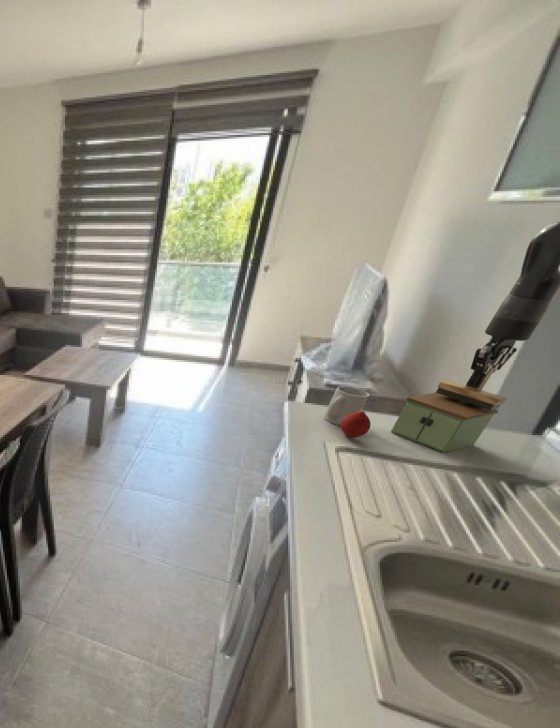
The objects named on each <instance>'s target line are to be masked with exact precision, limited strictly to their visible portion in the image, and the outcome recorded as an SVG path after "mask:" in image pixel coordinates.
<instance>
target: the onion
mask: <svg viewBox="0 0 560 728" xmlns="http://www.w3.org/2000/svg"><path fill="white" fill-rule="evenodd" d="M371 425H372V424H371V419H370V417H369V416H368V415H367V414H366V412H365V409H360V410H359V411H358V412H356V413H352V414H350V415H348V416H346V417H345V418H344V419H343V420H342V422H341V425H340V429H341V431H342V432H343V434H344V436H345V437H346V438H347V439H354V438H359V437H362V436H364V435H366V434H367V433H368V432H369V431H370V430H371Z"/></svg>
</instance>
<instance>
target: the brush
mask: <svg viewBox="0 0 560 728" xmlns="http://www.w3.org/2000/svg"><path fill="white" fill-rule="evenodd" d="M481 366H482V364H481ZM494 370H495V368H493V367H491V369H490V370H489V372H488V373H487V374H486V376H485V377H484V379H483V381H482V382H481V384H480V385H479V387H478V388H472V387H469V386H467V385H466V384H463V383H459V382H456V381H452V380H448V379H447V380H443V381H439V382H438V385H437V390H436V391H435V392H436V393H438V394H441V395H445V396H448V397H451V398H454V399H457V400H460V401H463V402H466V403H469V404H472V405H475V406H479V407H482V408H485V409H488V410H494V409H496V410H499V408H500V407H501V405H503V404H505V402H506V401H507V399H508V397H505V396H502V395H500V394H499V395H498V394H496V393H492V392H489V391H486V390H483V389H484V387H485V385H486V384H487V383H488V381H489V379H490V378H491V376H492V375H493V374H494V373H493V371H494Z"/></svg>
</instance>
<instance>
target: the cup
mask: <svg viewBox="0 0 560 728" xmlns="http://www.w3.org/2000/svg"><path fill="white" fill-rule="evenodd" d="M369 397H370V393H368V392H367V391H366V390H362V389H360V388H356V387H352V386H345V385H344V386H343V385H340V386H337V387H336V390H335V392H334V393H333V396H332V398H331V400H330V402H329V404H328V406H327V408H326V411H325V413H324V415H323V417H324V419H325V421H327V422H328V423H330V424H334V425H336V426H341V422H342V420H343V419H344V418H345V417H346V416H348V415H350V414H352V413H356V412H358V411H359V410H360V409H362V410H364V409H363V408H364V407H365V405H366V403H367V401H368V399H369Z"/></svg>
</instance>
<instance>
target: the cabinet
mask: <svg viewBox="0 0 560 728" xmlns="http://www.w3.org/2000/svg"><path fill="white" fill-rule="evenodd" d="M405 400H406V403H405V405H404V407H403V409H402V410H401V413H400V414H399V415H398V417H397V419H396V421H395V423H394V424H393V426H392V429H391V430H390V433H392V434H395V435H397V436H400V437H403V438H406V439H408V440H410V441H412V442H415V443H418V444H420V445H423V446H425V447H428V448H430V447H431V448H430V449H433V448H434V449H433V450H435V449H436V450H435V451H438V450H439V451H438V452H440V451H442V452H441V453H443V452H444V453H448V452H451V451H456V450H459V449H463V448H468V447H472V446H474V445H476V443H477V441H478V439H479V438H480V436H481V435H482V433H483V432H484V430H485V429H486V427H487V426H488V424H489V423H490V421H491V419H492V418H493V417H494V415H496V414H498V413H499V409H494V410H488V409H485V408H482V407H479V406H475V405H472V404H469V403H466V402H463V401H460V400H457V399H454V398H451V397H448V396H445V395H441V394H438V393H436V391H434V392H431V393H424V394H418V395H413V396H408V397H406V399H405ZM447 451H448V452H447Z"/></svg>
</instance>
